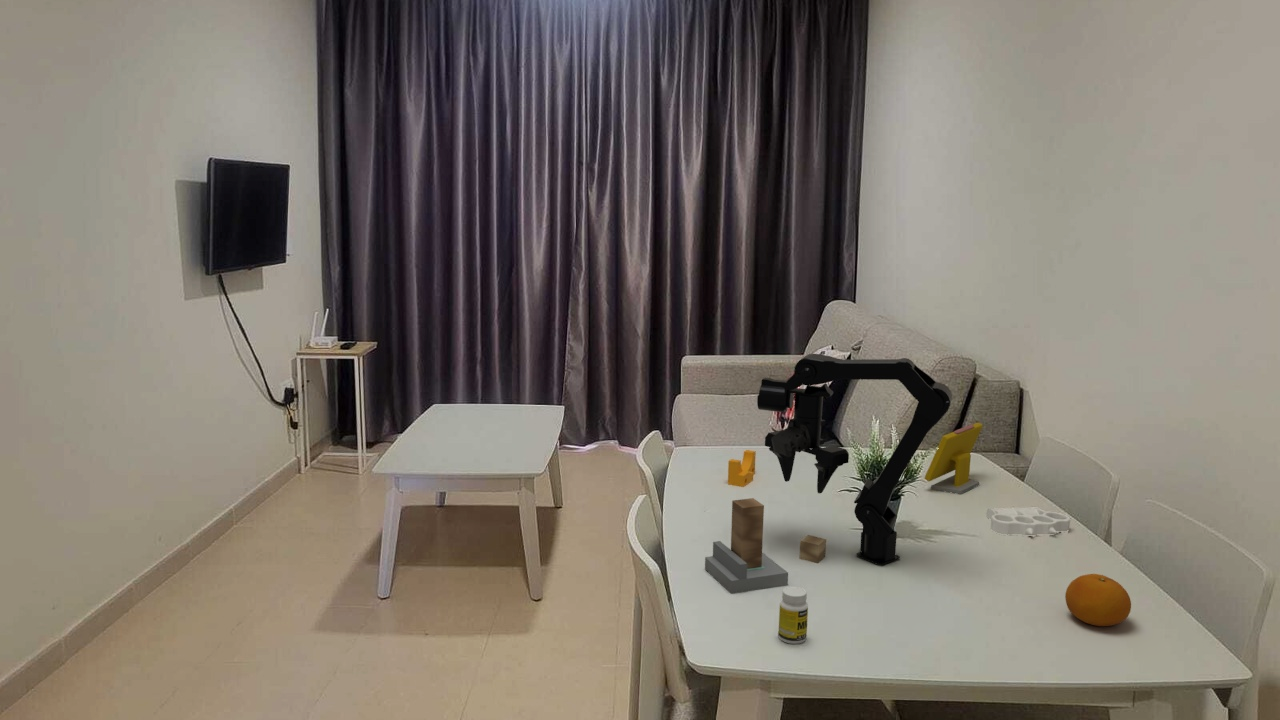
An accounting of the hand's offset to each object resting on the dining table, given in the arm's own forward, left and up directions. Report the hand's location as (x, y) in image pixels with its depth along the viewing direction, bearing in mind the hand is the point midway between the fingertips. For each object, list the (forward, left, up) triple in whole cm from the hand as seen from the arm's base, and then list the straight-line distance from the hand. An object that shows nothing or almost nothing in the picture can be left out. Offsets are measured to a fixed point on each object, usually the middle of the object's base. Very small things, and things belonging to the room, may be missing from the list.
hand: (803, 487), depth 195 cm
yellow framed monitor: (+5, -63, -13) cm, 65 cm away
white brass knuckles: (-22, -51, -14) cm, 57 cm away
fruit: (-55, -17, -13) cm, 59 cm away
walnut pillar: (-5, +21, -11) cm, 24 cm away
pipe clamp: (+41, -22, -14) cm, 48 cm away
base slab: (-5, +21, -13) cm, 25 cm away
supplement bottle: (-28, +32, -13) cm, 44 cm away
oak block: (-6, +3, -13) cm, 15 cm away
